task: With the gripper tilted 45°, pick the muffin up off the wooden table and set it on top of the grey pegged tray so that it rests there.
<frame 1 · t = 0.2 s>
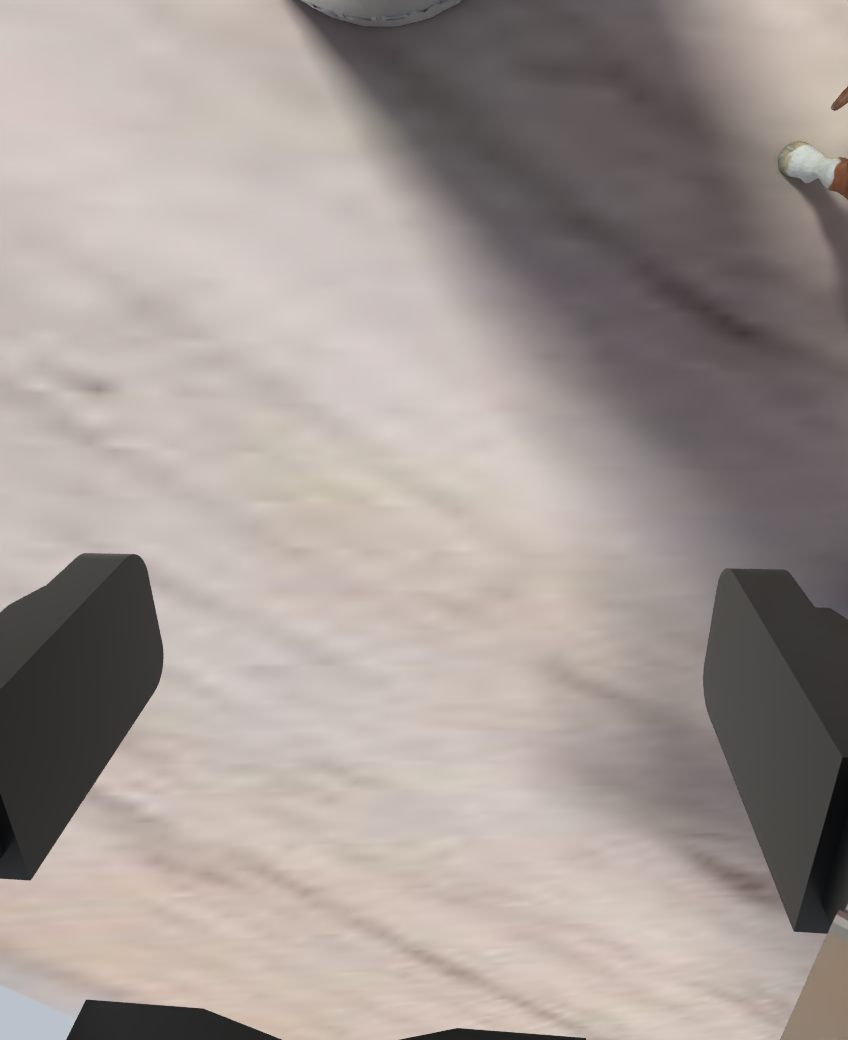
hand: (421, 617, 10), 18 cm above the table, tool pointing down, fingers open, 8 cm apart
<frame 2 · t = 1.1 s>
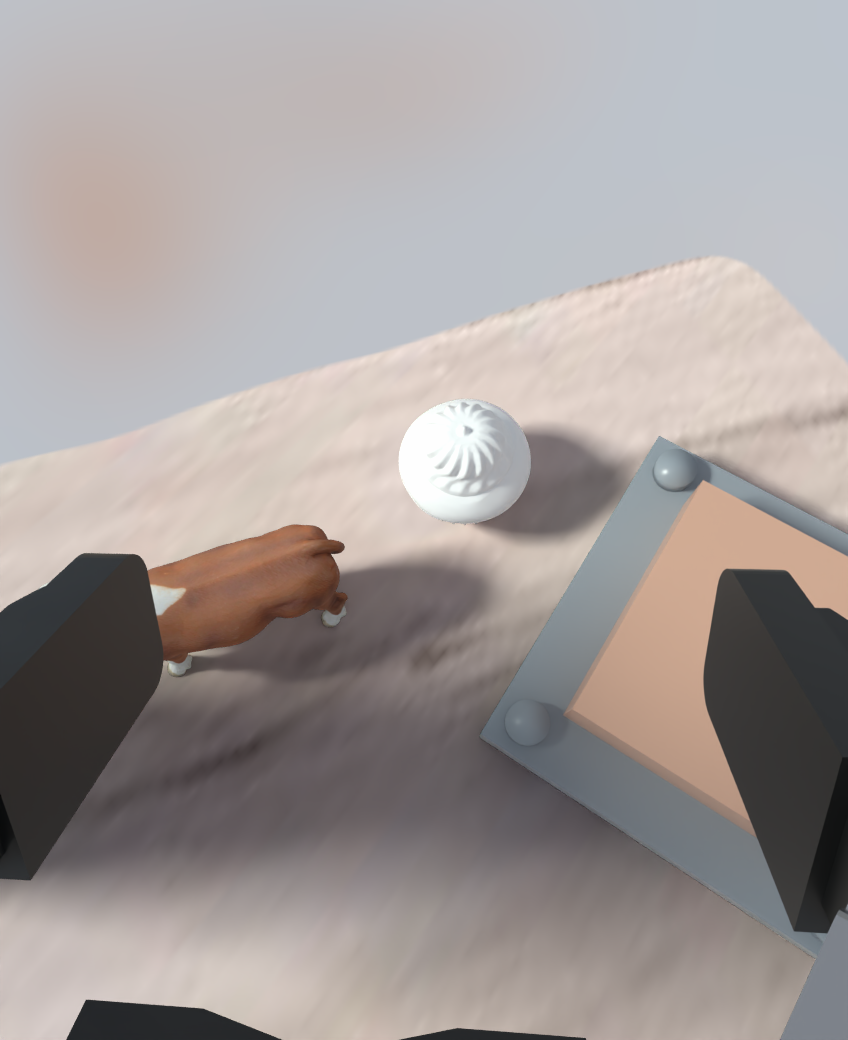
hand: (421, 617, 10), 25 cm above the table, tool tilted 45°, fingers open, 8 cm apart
bull figurine: (231, 623, 36), on the table
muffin: (464, 489, 38), on the table
grey pegged tray: (720, 682, 34), on the table
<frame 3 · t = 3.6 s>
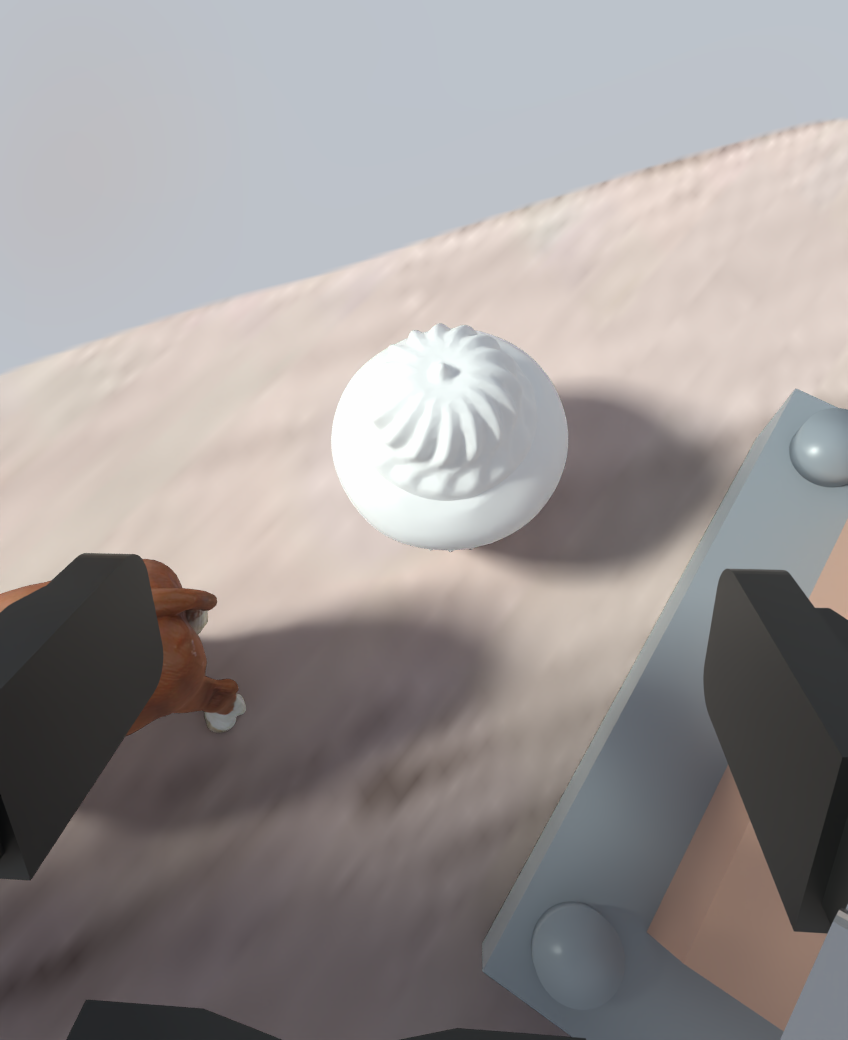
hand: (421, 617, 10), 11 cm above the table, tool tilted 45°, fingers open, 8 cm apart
bull figurine: (53, 725, 21), on the table
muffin: (453, 490, 23), on the table
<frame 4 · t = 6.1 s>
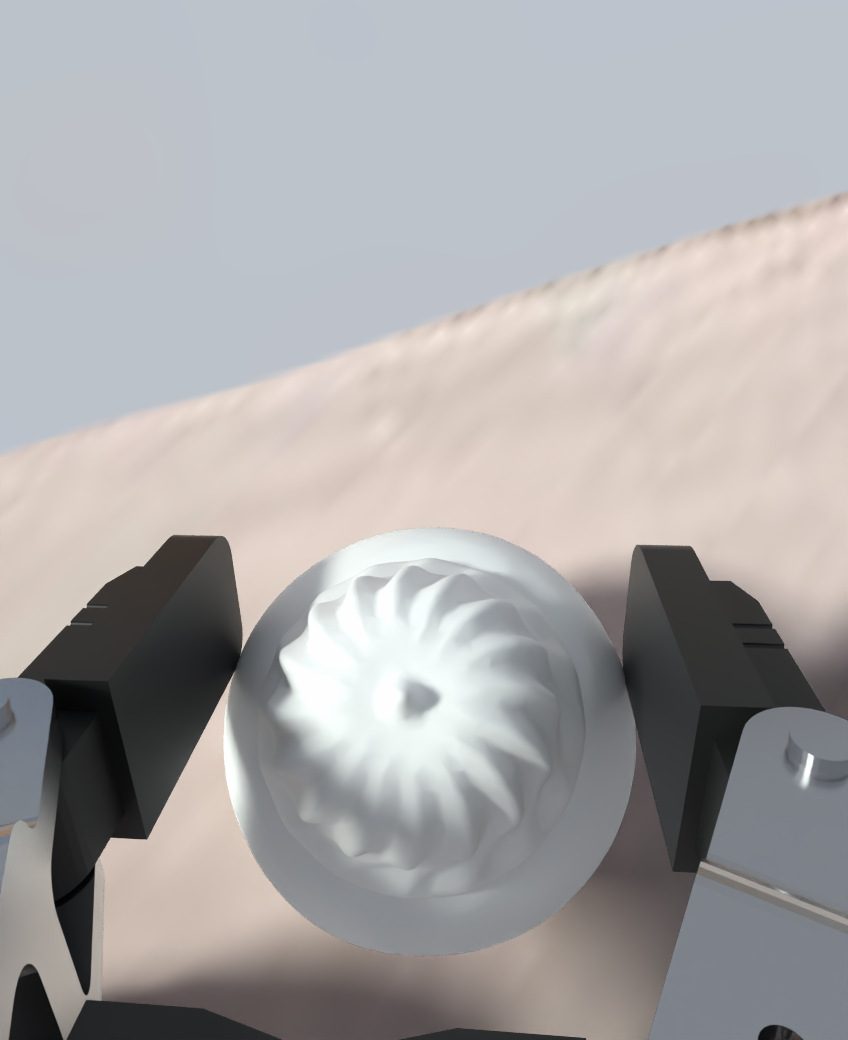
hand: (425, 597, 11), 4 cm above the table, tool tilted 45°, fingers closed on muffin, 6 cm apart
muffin: (440, 739, 15), on the table, touching gripper
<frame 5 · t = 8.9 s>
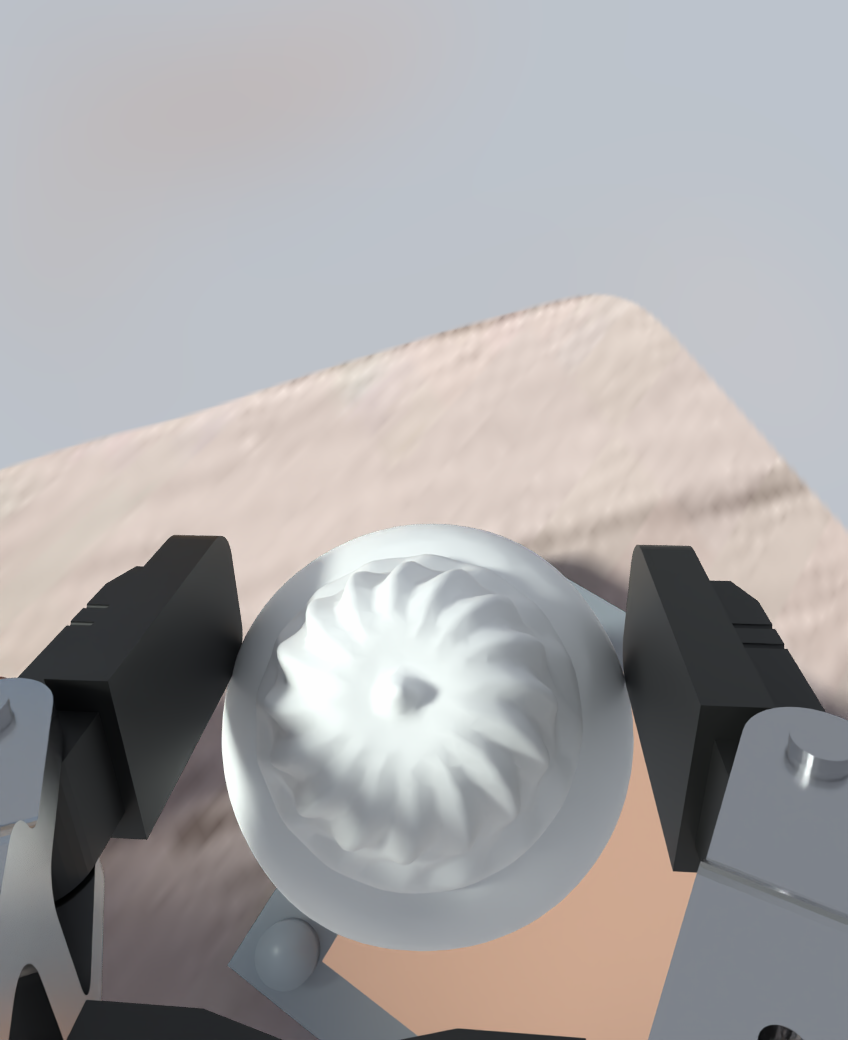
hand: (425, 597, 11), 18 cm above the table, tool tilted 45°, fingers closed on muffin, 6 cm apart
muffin: (438, 736, 15), point 13 cm above the table, touching gripper
grey pegged tray: (576, 870, 26), on the table
when the fingers open (12 cm above the table, at t = 11.4 s): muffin drops 1 cm, resting on grey pegged tray.
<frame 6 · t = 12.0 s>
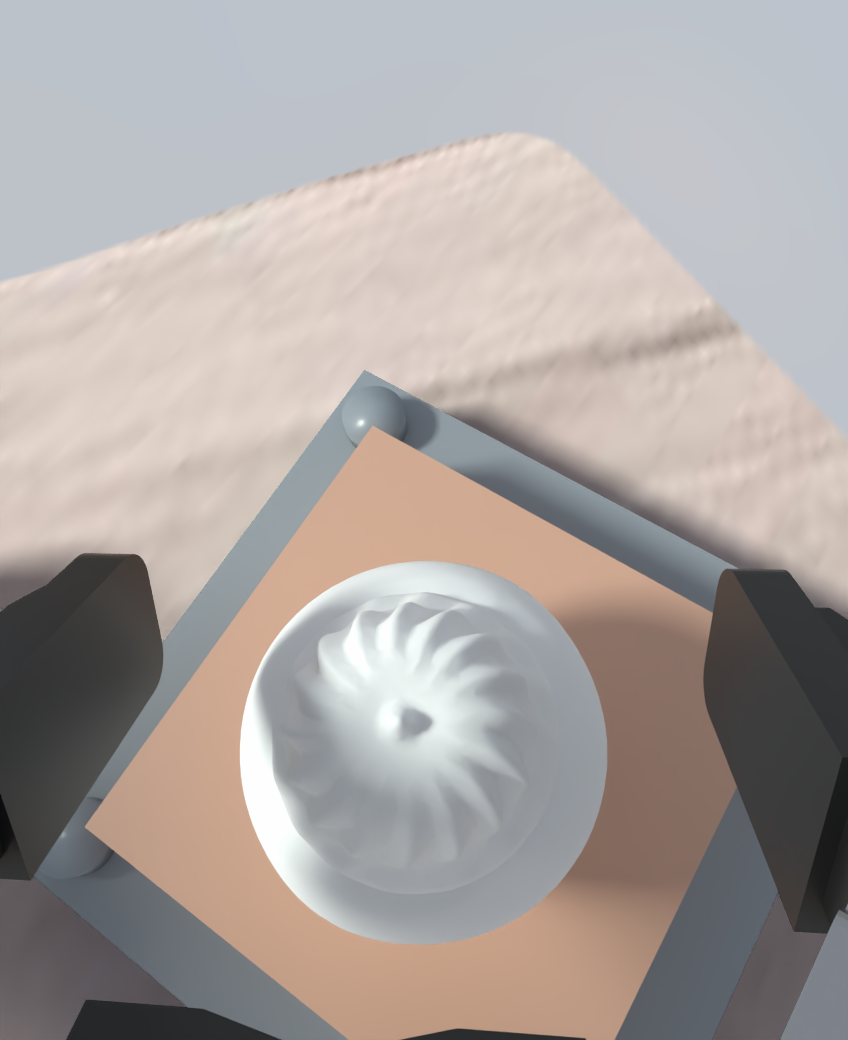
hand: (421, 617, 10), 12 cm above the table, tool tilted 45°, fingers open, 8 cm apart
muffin: (434, 749, 16), point 6 cm above the table, touching grey pegged tray
grey pegged tray: (453, 756, 21), on the table
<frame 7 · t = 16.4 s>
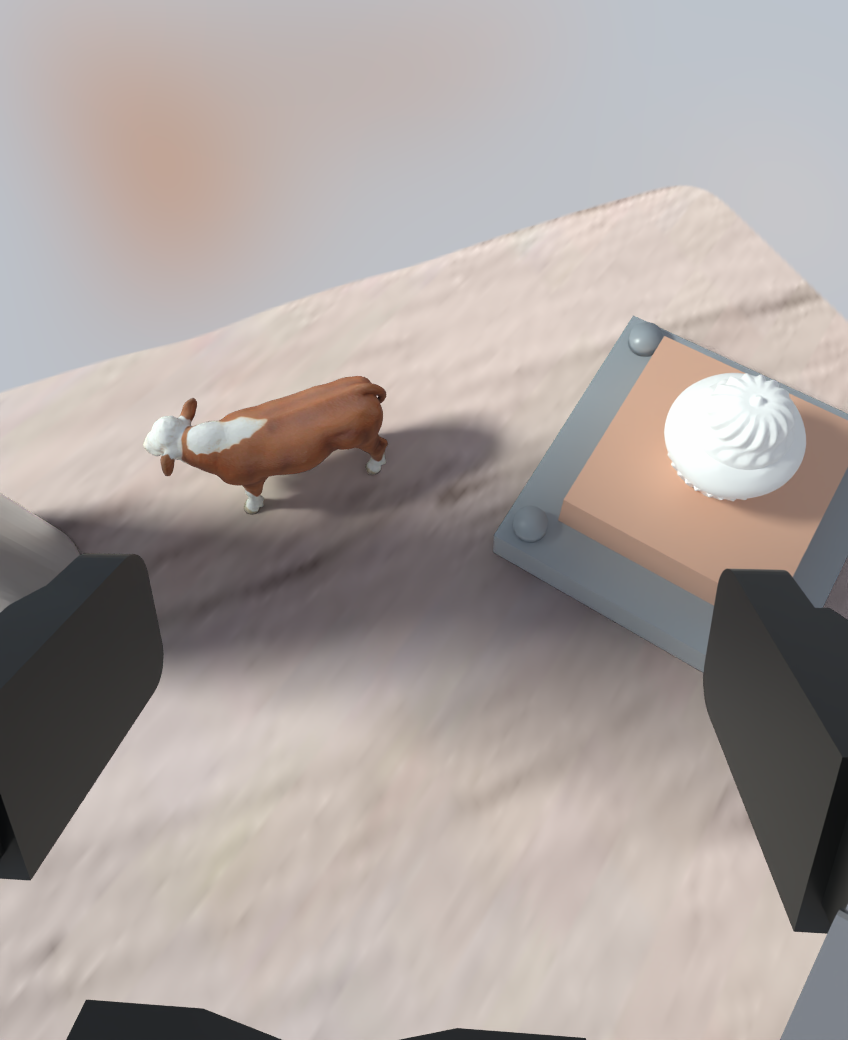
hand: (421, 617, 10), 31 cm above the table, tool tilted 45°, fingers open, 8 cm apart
bull figurine: (293, 475, 46), on the table
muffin: (711, 468, 37), point 6 cm above the table, touching grey pegged tray
grey pegged tray: (685, 507, 43), on the table
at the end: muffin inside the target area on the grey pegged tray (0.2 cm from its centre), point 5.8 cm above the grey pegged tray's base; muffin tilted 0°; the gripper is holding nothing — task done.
